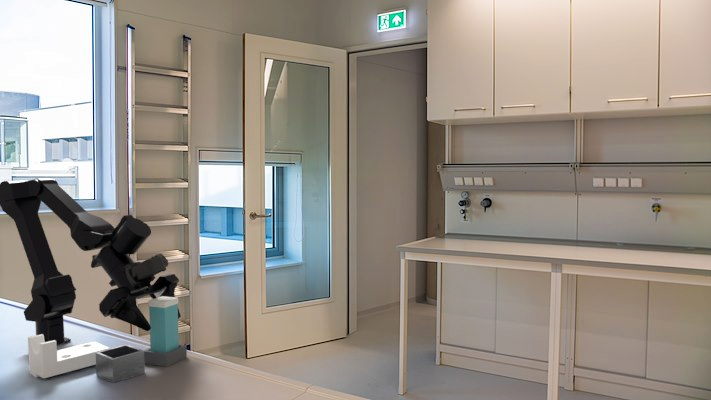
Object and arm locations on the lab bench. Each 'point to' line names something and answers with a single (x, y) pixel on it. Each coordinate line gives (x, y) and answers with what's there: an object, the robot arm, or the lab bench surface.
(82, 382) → the lab bench surface
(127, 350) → the box
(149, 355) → the frame
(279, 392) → the lab bench surface
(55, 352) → the bracket
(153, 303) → the plug
